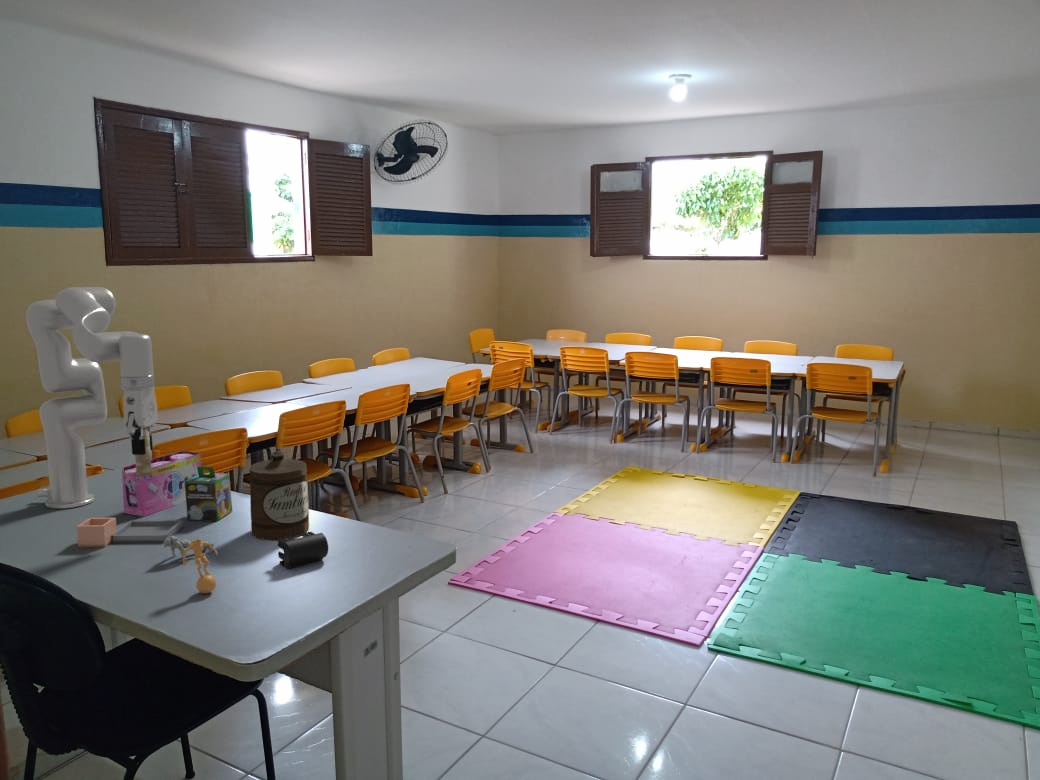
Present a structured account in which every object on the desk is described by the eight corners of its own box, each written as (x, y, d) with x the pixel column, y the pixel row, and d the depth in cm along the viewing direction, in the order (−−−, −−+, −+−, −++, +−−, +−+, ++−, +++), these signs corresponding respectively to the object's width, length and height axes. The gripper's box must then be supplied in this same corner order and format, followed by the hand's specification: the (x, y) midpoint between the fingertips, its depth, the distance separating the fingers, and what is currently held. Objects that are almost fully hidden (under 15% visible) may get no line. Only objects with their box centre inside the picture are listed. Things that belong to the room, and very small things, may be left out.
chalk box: (232, 511, 225) (230, 462, 222) (217, 522, 216) (214, 470, 213) (202, 510, 226) (199, 460, 223) (185, 520, 217) (182, 469, 214)
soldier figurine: (198, 558, 196) (153, 554, 186) (205, 537, 196) (159, 532, 187) (211, 564, 192) (165, 561, 182) (218, 543, 192) (172, 538, 183)
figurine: (195, 601, 165) (192, 547, 163) (178, 594, 168) (175, 541, 167) (228, 588, 172) (226, 536, 170) (211, 582, 175) (209, 531, 173)
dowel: (134, 475, 201) (130, 418, 198) (140, 472, 204) (136, 416, 202) (148, 475, 201) (144, 418, 198) (154, 472, 204) (150, 416, 202)
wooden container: (273, 544, 199) (270, 461, 195) (240, 532, 208) (236, 452, 204) (320, 529, 211) (318, 450, 207) (286, 518, 219) (284, 442, 216)
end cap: (290, 573, 181) (289, 545, 180) (276, 564, 186) (275, 537, 185) (329, 562, 188) (328, 535, 187) (315, 554, 193) (314, 528, 192)
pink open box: (78, 547, 195) (76, 526, 194) (91, 538, 202) (89, 517, 201) (105, 547, 196) (103, 526, 195) (117, 538, 202) (115, 517, 201)
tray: (110, 542, 199) (109, 535, 199) (130, 526, 211) (130, 520, 210) (166, 542, 200) (165, 535, 199) (183, 526, 212) (183, 520, 211)
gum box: (140, 518, 218) (136, 471, 216) (119, 515, 221) (115, 468, 219) (203, 495, 240) (201, 452, 237) (184, 492, 243) (181, 450, 240)
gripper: (138, 387, 191) (144, 460, 194) (165, 377, 207) (169, 445, 210) (107, 387, 190) (113, 460, 193) (136, 377, 207) (141, 445, 210)
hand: (142, 451), depth 202 cm, fingers closed on dowel, 3 cm apart
